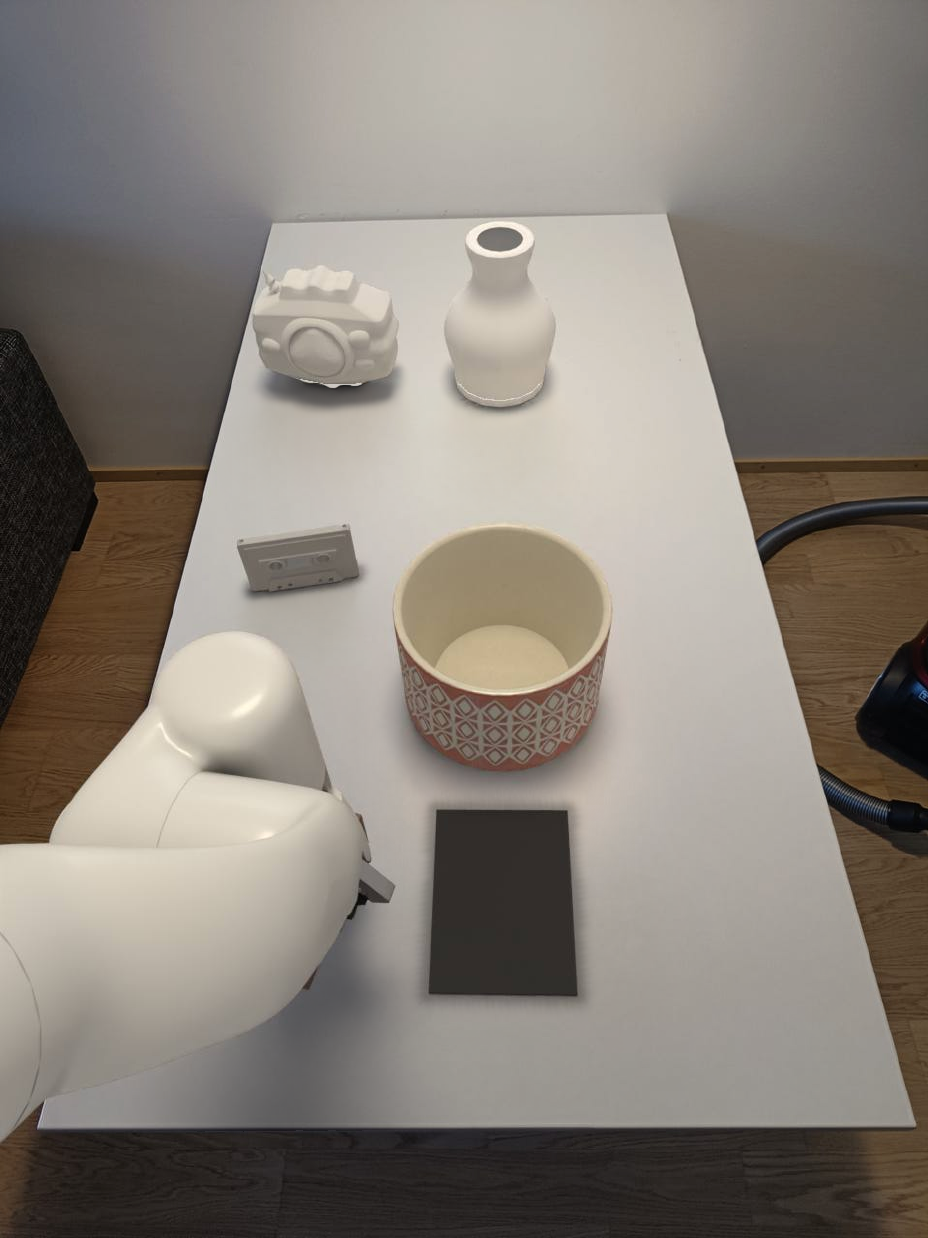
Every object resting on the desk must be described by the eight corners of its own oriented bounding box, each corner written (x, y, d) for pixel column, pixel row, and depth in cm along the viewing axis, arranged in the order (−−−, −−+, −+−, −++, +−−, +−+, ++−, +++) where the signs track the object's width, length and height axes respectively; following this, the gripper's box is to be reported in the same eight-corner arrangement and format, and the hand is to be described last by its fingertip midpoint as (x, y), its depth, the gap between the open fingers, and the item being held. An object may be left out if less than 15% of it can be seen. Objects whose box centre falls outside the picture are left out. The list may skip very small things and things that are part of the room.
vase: (556, 411, 114) (565, 269, 98) (446, 414, 115) (437, 273, 99) (549, 344, 123) (557, 204, 107) (447, 347, 123) (440, 207, 108)
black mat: (577, 995, 71) (577, 994, 71) (429, 993, 72) (428, 992, 71) (567, 811, 81) (567, 810, 81) (436, 810, 81) (436, 809, 81)
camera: (282, 352, 124) (257, 246, 111) (408, 360, 122) (397, 253, 109) (260, 403, 117) (231, 296, 105) (392, 413, 115) (379, 304, 103)
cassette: (252, 595, 97) (235, 549, 91) (251, 582, 99) (235, 536, 92) (360, 579, 98) (350, 532, 92) (358, 567, 99) (349, 519, 93)
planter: (607, 776, 83) (625, 691, 71) (403, 782, 83) (388, 698, 71) (587, 614, 94) (600, 518, 83) (408, 619, 95) (395, 524, 83)
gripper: (114, 810, 53) (195, 918, 67) (374, 889, 49) (401, 985, 64) (176, 709, 57) (240, 830, 72) (418, 775, 54) (435, 889, 68)
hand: (315, 902), depth 68 cm, fingers closed on bar, 4 cm apart
